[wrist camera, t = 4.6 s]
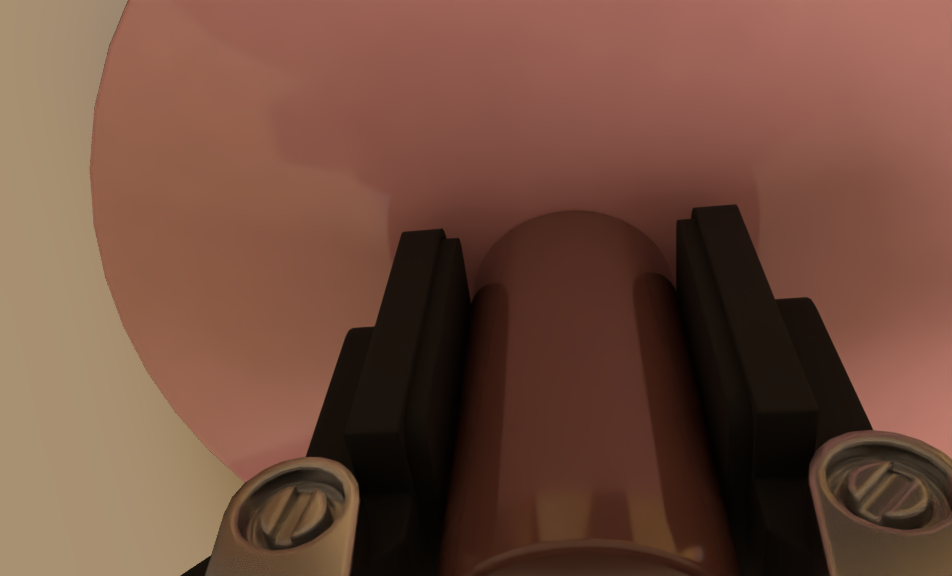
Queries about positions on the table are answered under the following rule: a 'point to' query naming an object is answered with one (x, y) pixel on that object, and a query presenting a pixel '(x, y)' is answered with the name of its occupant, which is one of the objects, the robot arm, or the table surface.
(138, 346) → the pink knobbed disc
